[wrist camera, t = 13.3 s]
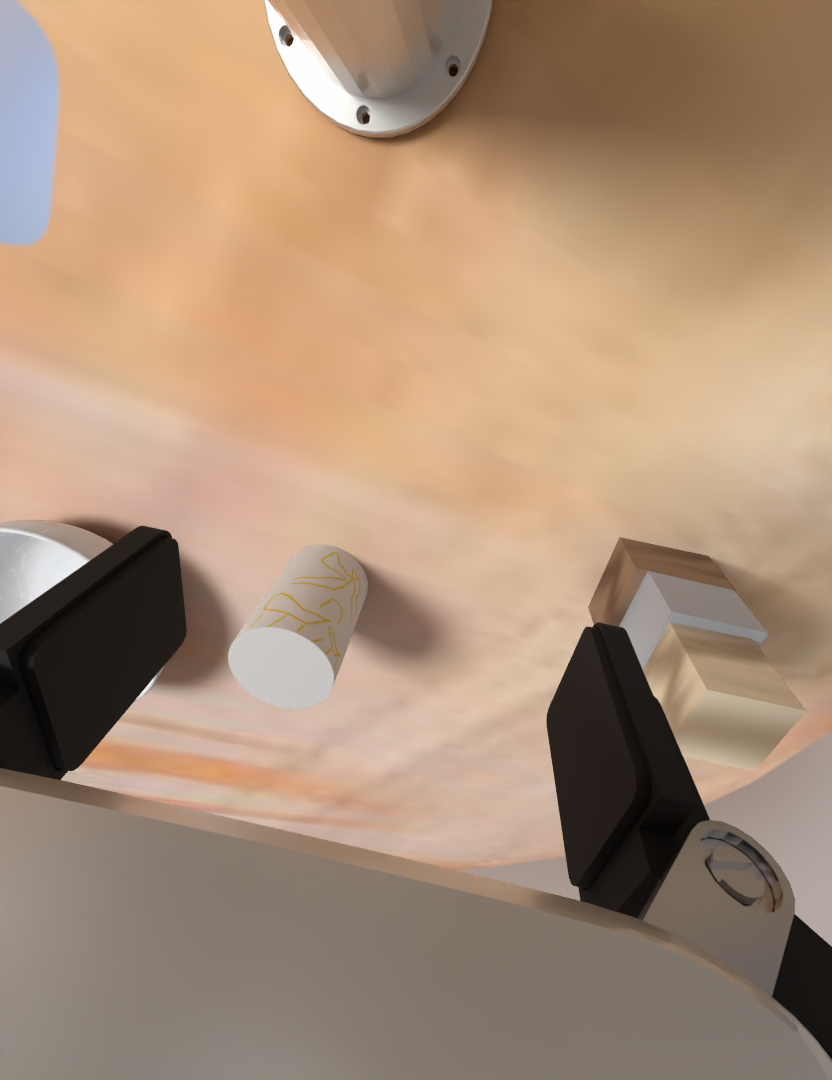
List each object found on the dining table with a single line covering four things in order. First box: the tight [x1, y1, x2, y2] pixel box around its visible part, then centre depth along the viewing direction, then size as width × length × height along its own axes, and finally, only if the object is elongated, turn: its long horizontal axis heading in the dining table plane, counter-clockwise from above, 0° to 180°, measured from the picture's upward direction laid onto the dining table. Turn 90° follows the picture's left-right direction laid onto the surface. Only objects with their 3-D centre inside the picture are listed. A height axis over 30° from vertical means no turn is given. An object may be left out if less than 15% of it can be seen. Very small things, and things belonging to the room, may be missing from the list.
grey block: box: [619, 571, 769, 669], centre depth 35 cm, size 6×6×5 cm
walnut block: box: [588, 537, 735, 626], centre depth 39 cm, size 8×8×5 cm
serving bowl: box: [0, 520, 165, 701], centre depth 47 cm, size 21×21×7 cm
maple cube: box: [643, 622, 806, 772], centre depth 30 cm, size 6×6×6 cm
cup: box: [228, 545, 368, 709], centre depth 40 cm, size 8×8×12 cm
